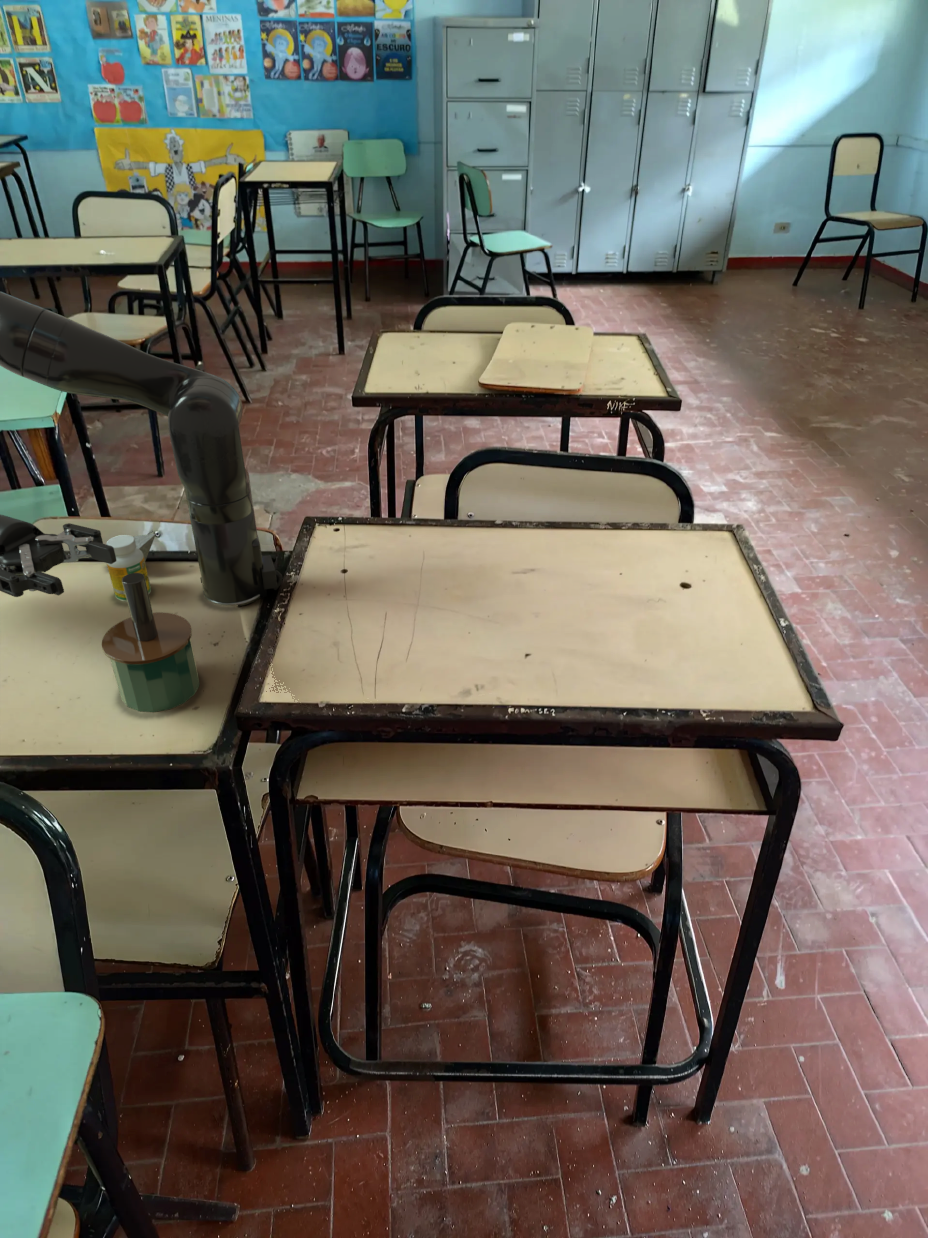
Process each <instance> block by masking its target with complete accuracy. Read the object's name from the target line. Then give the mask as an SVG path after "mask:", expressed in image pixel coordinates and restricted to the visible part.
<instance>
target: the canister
mask: <svg viewBox="0 0 928 1238" xmlns="http://www.w3.org/2000/svg"><path fill="white" fill-rule="evenodd" d="M192 644H193V643H192V638H191V639H190V641H189V642H188V644H187V645H186V646H185V647H184V648H183V649H182V650H180V651H179V652H177V653H176V654H174V655H172V656H170V657H168V658H165V659H163V660H160V661H156V662H152V663H146V664H124V663H119V662H116V661H114V660H112V659H110V658H109V660H110V663H111V668H112V670H113V674H114V678H115V682H116V686H117V689H118V693H119V696H120V700H121V701H122V702H123V704H124V705H125V706H126V707H127V708H129V709H132V710H134V711H136V712H140V713H141V712H142V713H159V712H163V711H169V710H172V709H174V708H176V707H178V706H181V705H183V704H185V703H186V702H188V700H191V698H193V696H195V694H196V692H197V691H198V689H199V687H200V679H199V678H200V677H199V673H198V668H197V662H196V658H195V654H194V648H193V645H192Z"/></svg>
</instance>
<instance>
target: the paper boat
mask: <svg viewBox="0 0 928 1238" xmlns="http://www.w3.org/2000/svg"><path fill="white" fill-rule="evenodd" d="M153 532H154V530H153V529H151V530H150V531H148V533H147V534H142V535H133V536H132V535H131V536H132V537H134V539H135V543H136V548H138V549H140V550H141V551H142V553H143V556H144V560H145V562H147V559H148V555H149V553H150V550H151V547H152V545H153V543H154V540H155V538H156V535H157V533H153Z"/></svg>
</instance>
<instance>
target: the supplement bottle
mask: <svg viewBox="0 0 928 1238" xmlns="http://www.w3.org/2000/svg"><path fill="white" fill-rule="evenodd" d="M106 545H109V546H112V547H113V548H114V552H115V555H116V562H114V563H113V564H109V563H106V567H107V570H108V575H109V578H110V581H111V584H112V589H113V592H114V595H115V598H116V599H117V600H119V601H121V602H127V599H126V595H125V591H124V587H123V583H122V578H123V577H124V576H126V575H128V574H131V573H141V574H143V575H144V577H145V581H146V585H147V590H148V594H149V595H150V594H151V592H152V587H151V582H150V578H149V574H148V570H147V565H146V561H145V560H144V556H143V553H142V551H141V550H140V549H138V548H136V543H135V539H134V537H132V535H130V534H119V535H116V536H112V537H110V538H109V539H108V540H107V541H106Z"/></svg>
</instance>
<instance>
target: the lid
mask: <svg viewBox="0 0 928 1238" xmlns="http://www.w3.org/2000/svg"><path fill="white" fill-rule="evenodd" d="M122 583H123V587H124V591H125V595H126V599H127V601H126V603H127V606H128V611H129V614H130V617H128V618H125V619H123V620H121V621H119V622H117V623H115V624H114V625H113V626H112V627H110V628H109V629H108V630H107V631H106V632H105V634H104V635H103V637H102V639H101V648H102V651H103V653H104V655H105V656H106V657H107V658H108V659H109V660H110V659H112V660H114V661H116V662H119V663H124V664H146V663H152V662H156V661H160V660H163V659H165V658H168V657H170V656H172V655H174V654H176V653H177V652H179V651H180V650H182V649H183V648H184V647H185V646H186V645H187V644H188V642H189V641H190V639H191V640H192V636H193V630H192V626H191V624H190V622H189V621H188V620H187V619H186V618H184V617H182V616H181V615H179V614H176V613H171V612H164V611H163V612H162V611H161V612H160V611H159V612H157V611H156V612H154V611H153V607H152V602H151V599H150V594H148V590H147V585H146V581H145V577H144V575H143V574H141V573H131V574H128V575H126V576H124V577H123V578H122Z"/></svg>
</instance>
